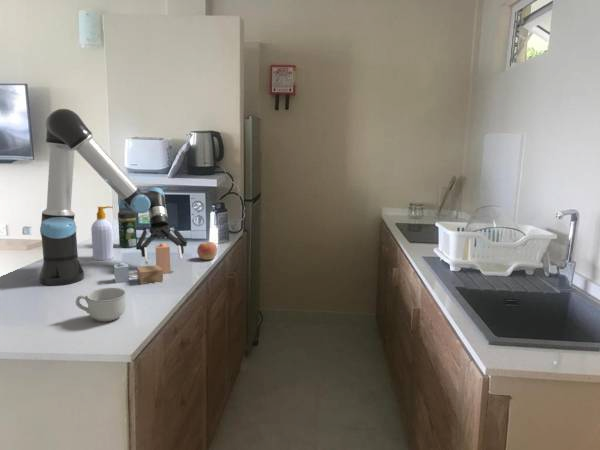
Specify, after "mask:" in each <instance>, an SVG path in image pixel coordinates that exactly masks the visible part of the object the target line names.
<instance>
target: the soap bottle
mask: <svg viewBox="0 0 600 450" xmlns="http://www.w3.org/2000/svg"><path fill="white" fill-rule="evenodd" d="M110 208H111V209H113V206H109V205H108V206H107V205H106V206H97V212H96V220H95V221H94V222H93V223H92V225H91V228H90V229H91V230H90V231H91V243H92V247H91V248H92V258H93V260H95V261H108V260H111V259H114V242H113V241H114V240H113V237H114V236H113V226H112V224H111V223H110V221H109V220H108V219H107V218H106V212H105V211H104V209H110Z"/></svg>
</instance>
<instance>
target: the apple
mask: <svg viewBox="0 0 600 450" xmlns="http://www.w3.org/2000/svg"><path fill="white" fill-rule="evenodd" d="M196 249H197V252H196V253H197V254H198V257H199V258H200V259H201V260H203V261H211V260H213V259H215V258H216V257H217V253H218V247H217V244H215V242H211V241H209V242H207V241H205V242H202V243H200V244H199V245H198V247H197V248H196Z"/></svg>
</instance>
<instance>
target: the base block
mask: <svg viewBox="0 0 600 450" xmlns="http://www.w3.org/2000/svg"><path fill="white" fill-rule="evenodd" d="M136 269H137V271H136V272H137V275H138V277H137V281H138V282H139V283H140V285H150V284H149V283H152V284H156V283H155V282H160V283H163V282H164V278H163V277H164V275H163V270H162V269H161V268H160V266H159V265H156V264H155V265H146V266H138V267H136ZM162 281H163V282H162Z"/></svg>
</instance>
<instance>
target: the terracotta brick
mask: <svg viewBox="0 0 600 450" xmlns="http://www.w3.org/2000/svg"><path fill="white" fill-rule="evenodd" d="M170 247H171V246H170V245H169V243H168V244H166V243H164V242H161V243H159V244H155V265H159V266H160V268H161V269H162V270H163V274H166V273H167V274H171V253H170V252H171V251H170V249H171V248H170ZM167 274H166V275H167Z"/></svg>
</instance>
